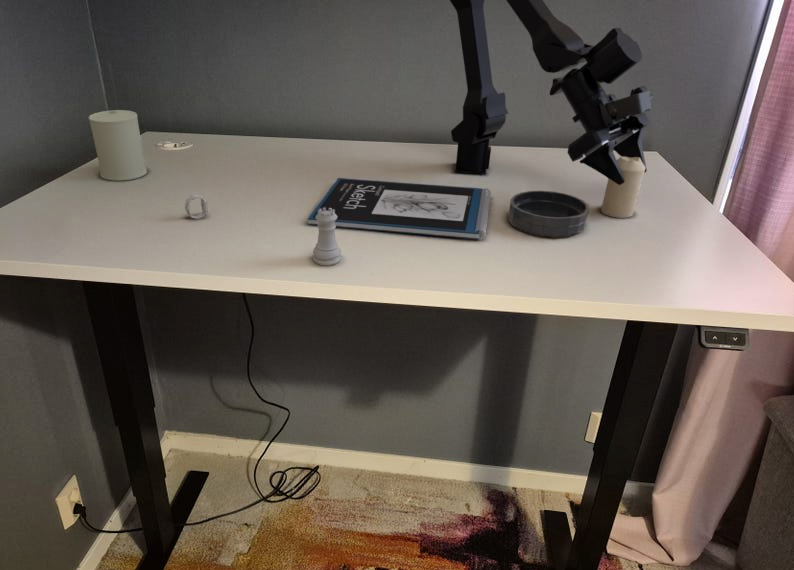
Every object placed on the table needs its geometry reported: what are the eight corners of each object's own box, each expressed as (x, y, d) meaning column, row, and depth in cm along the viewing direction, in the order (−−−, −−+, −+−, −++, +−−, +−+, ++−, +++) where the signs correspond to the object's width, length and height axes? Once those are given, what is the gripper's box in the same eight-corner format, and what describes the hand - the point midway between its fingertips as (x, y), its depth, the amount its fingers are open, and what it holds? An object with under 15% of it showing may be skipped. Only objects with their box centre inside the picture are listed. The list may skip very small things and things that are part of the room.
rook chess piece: (312, 254, 100) (310, 205, 95) (340, 253, 100) (340, 204, 96) (313, 267, 96) (311, 216, 91) (342, 266, 96) (342, 216, 92)
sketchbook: (338, 184, 127) (338, 174, 126) (490, 197, 121) (492, 186, 120) (307, 225, 109) (307, 213, 108) (484, 242, 104) (486, 230, 103)
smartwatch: (188, 221, 110) (185, 199, 108) (185, 217, 112) (182, 195, 110) (208, 218, 112) (206, 196, 109) (205, 213, 113) (202, 192, 111)
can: (146, 164, 136) (135, 106, 129) (148, 178, 129) (138, 117, 122) (100, 168, 133) (87, 109, 127) (100, 182, 126) (87, 120, 119)
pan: (508, 235, 106) (511, 214, 104) (507, 207, 117) (510, 188, 115) (588, 241, 104) (593, 221, 102) (580, 212, 115) (584, 193, 113)
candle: (628, 207, 117) (642, 153, 112) (636, 218, 113) (651, 162, 107) (597, 206, 118) (610, 152, 112) (604, 217, 113) (618, 161, 108)
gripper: (600, 78, 99) (650, 164, 99) (653, 63, 110) (698, 141, 109) (546, 120, 108) (592, 200, 108) (600, 103, 119) (642, 175, 119)
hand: (633, 178), depth 111 cm, fingers open, 8 cm apart
